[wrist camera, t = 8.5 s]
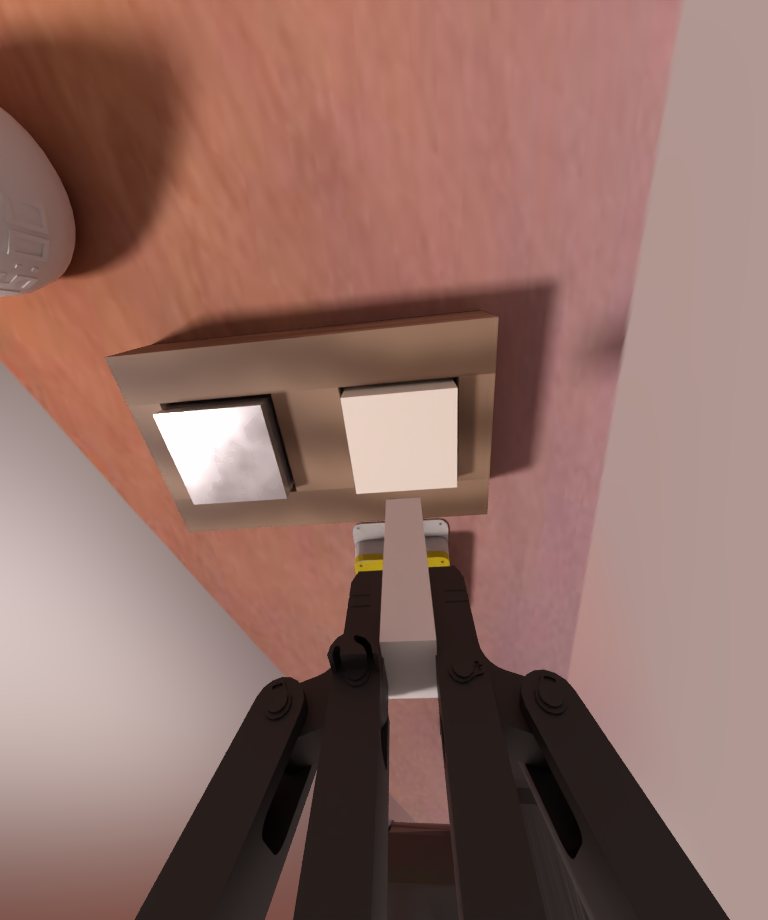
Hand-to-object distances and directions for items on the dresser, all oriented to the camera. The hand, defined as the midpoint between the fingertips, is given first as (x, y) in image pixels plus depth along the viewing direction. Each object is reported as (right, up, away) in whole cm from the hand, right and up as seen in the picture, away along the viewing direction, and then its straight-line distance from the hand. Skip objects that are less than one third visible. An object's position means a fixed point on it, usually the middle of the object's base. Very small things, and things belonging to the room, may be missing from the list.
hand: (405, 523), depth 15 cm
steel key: (-12, +5, +10) cm, 16 cm away
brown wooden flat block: (-6, +6, +12) cm, 15 cm away
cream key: (0, +5, +10) cm, 11 cm away
